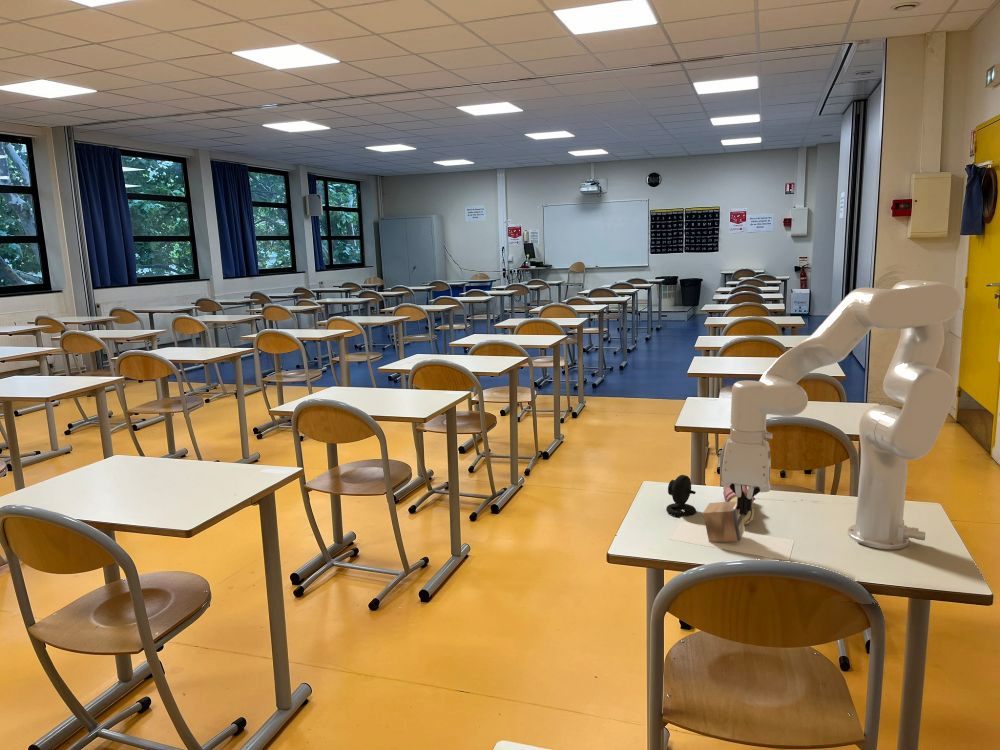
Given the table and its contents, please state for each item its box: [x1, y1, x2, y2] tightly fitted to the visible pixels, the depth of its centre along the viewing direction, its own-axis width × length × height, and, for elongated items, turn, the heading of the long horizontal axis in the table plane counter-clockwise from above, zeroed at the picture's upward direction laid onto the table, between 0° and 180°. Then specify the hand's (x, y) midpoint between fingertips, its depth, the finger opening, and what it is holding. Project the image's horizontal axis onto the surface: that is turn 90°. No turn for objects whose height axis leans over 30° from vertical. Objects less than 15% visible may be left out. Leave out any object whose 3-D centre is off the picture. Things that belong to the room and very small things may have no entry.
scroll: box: [722, 485, 756, 525], centre depth 181 cm, size 8×8×20 cm
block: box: [702, 501, 746, 542], centre depth 165 cm, size 7×7×7 cm
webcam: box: [665, 474, 697, 518], centre depth 182 cm, size 8×8×10 cm
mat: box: [669, 521, 795, 561], centre depth 164 cm, size 26×12×1 cm, turn 62°
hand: (744, 512), depth 162 cm, fingers closed
